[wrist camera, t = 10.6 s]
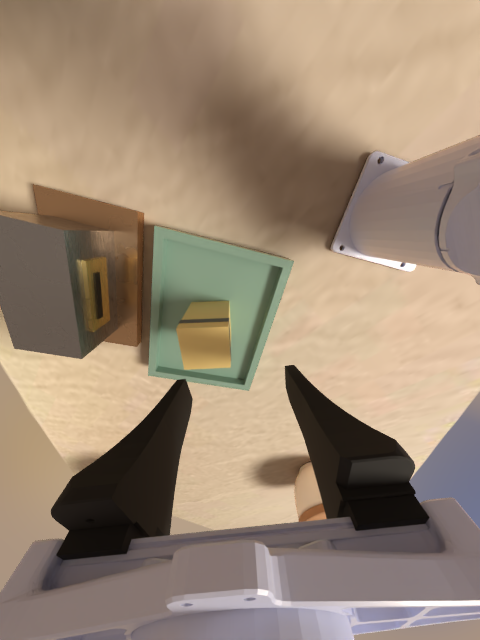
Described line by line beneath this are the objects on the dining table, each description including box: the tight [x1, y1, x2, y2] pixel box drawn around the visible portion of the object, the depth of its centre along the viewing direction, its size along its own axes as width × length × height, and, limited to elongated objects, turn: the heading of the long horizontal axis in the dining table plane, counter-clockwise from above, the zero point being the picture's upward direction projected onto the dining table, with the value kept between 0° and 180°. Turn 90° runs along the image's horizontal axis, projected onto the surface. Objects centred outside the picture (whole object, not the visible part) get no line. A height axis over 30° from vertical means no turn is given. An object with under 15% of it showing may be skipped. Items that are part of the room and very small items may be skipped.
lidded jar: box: [294, 462, 327, 522], centre depth 32 cm, size 11×11×9 cm
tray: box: [148, 226, 294, 391], centre depth 21 cm, size 13×17×2 cm
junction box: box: [0, 184, 144, 359], centre depth 16 cm, size 8×14×7 cm, turn 166°
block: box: [176, 301, 231, 370], centre depth 18 cm, size 4×4×6 cm
